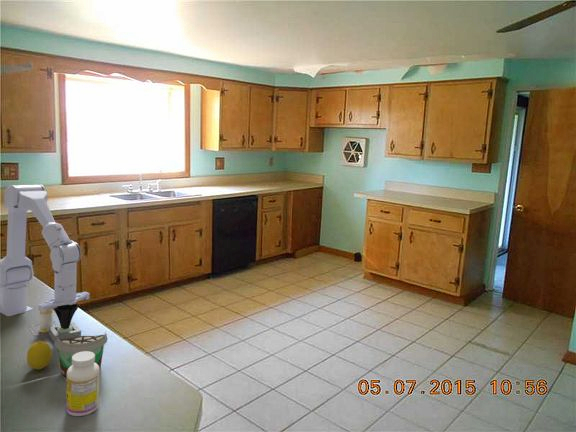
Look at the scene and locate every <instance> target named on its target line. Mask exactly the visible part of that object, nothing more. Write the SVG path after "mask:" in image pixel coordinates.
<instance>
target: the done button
mask: <svg viewBox="0 0 576 432" xmlns="http://www.w3.org/2000/svg"><path fill="white" fill-rule="evenodd" d="M69 331H72V326H71V325H70V326H69V328H68V329H63V328H61V326H59V327H58V328H57V332H58V334H59V333H64V332H69Z"/></svg>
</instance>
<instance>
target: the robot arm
mask: <svg viewBox="0 0 576 432" xmlns="http://www.w3.org/2000/svg"><path fill="white" fill-rule="evenodd" d="M48 197H49V196H48V192H47V189H46V188H45V186H44V185H43V184H41V183H38V184H20V185H18V184H17V185H14V184H9V185H8V186H7V187H6V188H5V189H4V197H3V198H4V199H3V200H4V201H3V202H4V203H3V204H4V208H5V209H7V232H6V237H7V238H6V255H5V256H4V257H3V258H2V259H0V313H1V314H3V315H5V316H7V317H11V316H15V315H19V314H22V313H26V312H29V311H33V310H34V309H33V307H31V306H28V285H30V282H31V281H32V280H33V278H34V268H33V261H32V260H31V259H30V258H29V257H27V256H26V240H27V239H26V238H27V222H28V221H27V220H28V218H27V216H28V211H30V212H31V213H32V214H33V215H34V217H35V218H36V220H37V221H38V222H39V224H40V225H41V227H42V230H41V235H42V236H43V239H44V240H45V242H46V244H47V245H48V248H49V250H50V253H49V258H50V262H51V264H52V270H53V271H54V280H53V281H54V286H53V287H54V291H53V292H54V295H53V296H54V297H53V298H51V299H48V300H46V301H45V302H43V303H39V304H38V311H39V312H40V311H41V312H46V310H50V309H53V312H54V313H55V314H56V317H57V318H58V322H59V325H60V326H61V328H63V329H68V328H69V326H70V323H72V320H73V317H74V315H75V313H76V311H77V310H78V309H79V305H78V304H77V302H81V301H84V300H85V301H87V300H88V301H89V300H90V292H87V291H82V292H77V274H78V273H77V272H78V271H77V267H78V266H77V265H78V263H77V262H79V261H81V259H82V250H81V247H80V245H79V243H77V242H76V241H74V240H73V239H70V237H69V235H68V234H67V232H66V230H65V229H64V227H63V225H62V224H61V223H59V222H56V220H55V218H54V217H53V214H52V211H51V210H50V208H49V205H48Z"/></svg>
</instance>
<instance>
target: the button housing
mask: <svg viewBox="0 0 576 432" xmlns="http://www.w3.org/2000/svg"><path fill="white" fill-rule="evenodd" d="M70 325H71V326H72V331H69V332H64V333H59V334H58V332H57V328H58V327H59V326H60V324H57V325H53V326H51V327H49V333H48V335H49V337H50V339H51V340H52V341H53V343H54V344H55V341H56V339H57V337H58V339H59V340H62V339H70V338H75V337H79V336H82V330H81V329H80V328H79V326H78V325H77V324H76V323H75V322H74V321H73V322H72V321H71V323H70Z"/></svg>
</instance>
